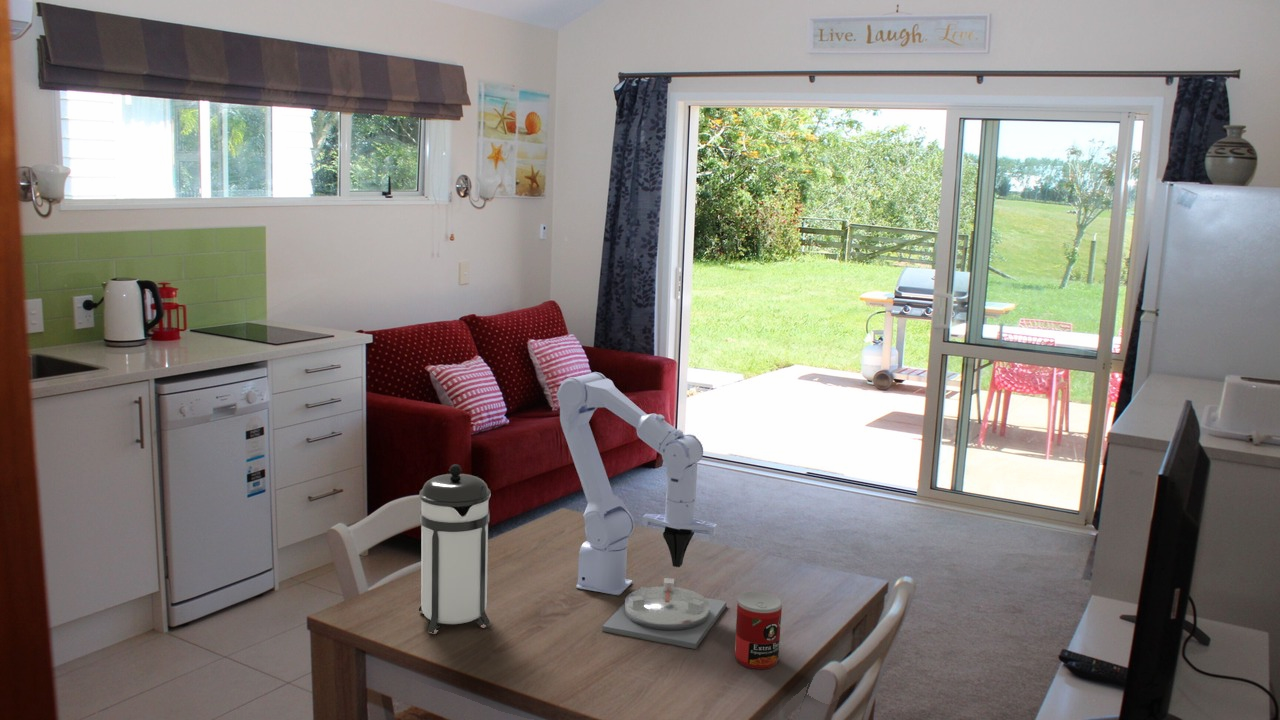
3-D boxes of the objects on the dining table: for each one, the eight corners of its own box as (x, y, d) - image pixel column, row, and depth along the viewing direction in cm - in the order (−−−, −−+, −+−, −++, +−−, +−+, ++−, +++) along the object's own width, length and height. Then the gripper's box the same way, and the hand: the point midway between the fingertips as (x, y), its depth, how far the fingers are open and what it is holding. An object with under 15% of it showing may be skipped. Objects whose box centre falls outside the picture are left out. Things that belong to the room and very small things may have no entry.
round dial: (663, 637, 185) (664, 617, 185) (607, 608, 197) (608, 589, 197) (725, 616, 196) (727, 597, 195) (669, 589, 208) (670, 571, 207)
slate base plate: (602, 631, 190) (602, 624, 190) (640, 591, 209) (640, 585, 209) (695, 648, 184) (695, 642, 184) (726, 606, 203) (726, 600, 203)
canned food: (750, 673, 176) (754, 612, 174) (725, 654, 182) (728, 595, 181) (787, 665, 179) (791, 605, 177) (761, 646, 186) (765, 588, 184)
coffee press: (513, 613, 196) (516, 460, 191) (461, 644, 182) (462, 480, 177) (441, 593, 204) (442, 446, 199) (385, 622, 190) (385, 464, 185)
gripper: (722, 497, 201) (718, 564, 203) (652, 487, 205) (649, 553, 208) (712, 507, 194) (708, 576, 196) (640, 497, 199) (637, 564, 201)
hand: (677, 565), depth 201 cm, fingers closed
